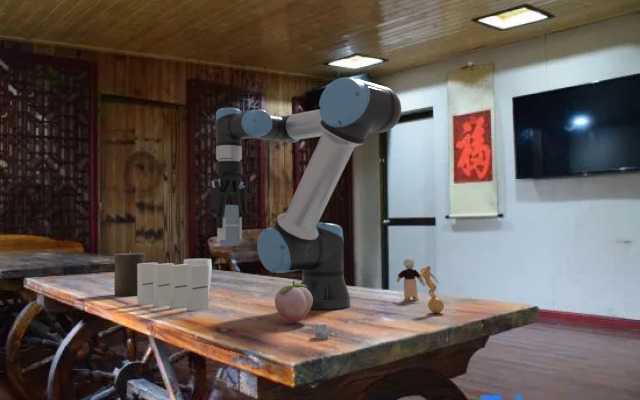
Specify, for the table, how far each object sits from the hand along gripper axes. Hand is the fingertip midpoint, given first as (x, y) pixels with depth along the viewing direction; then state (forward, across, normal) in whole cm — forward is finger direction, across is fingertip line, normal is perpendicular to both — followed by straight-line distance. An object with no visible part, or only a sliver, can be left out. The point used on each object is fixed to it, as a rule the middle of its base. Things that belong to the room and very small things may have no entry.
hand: (229, 239), depth 169 cm
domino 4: (+19, +13, 0) cm, 23 cm away
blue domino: (+2, 0, 0) cm, 2 cm away
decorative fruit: (+19, +16, +36) cm, 44 cm away
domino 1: (+19, +13, -21) cm, 31 cm away
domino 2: (+19, +13, -14) cm, 27 cm away
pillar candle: (+19, +2, -44) cm, 48 cm away
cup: (+19, -5, -19) cm, 28 cm away
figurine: (+19, -14, +58) cm, 62 cm away
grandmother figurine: (+19, -32, +42) cm, 56 cm away
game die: (+19, +26, +51) cm, 60 cm away
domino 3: (+19, +13, -7) cm, 24 cm away
